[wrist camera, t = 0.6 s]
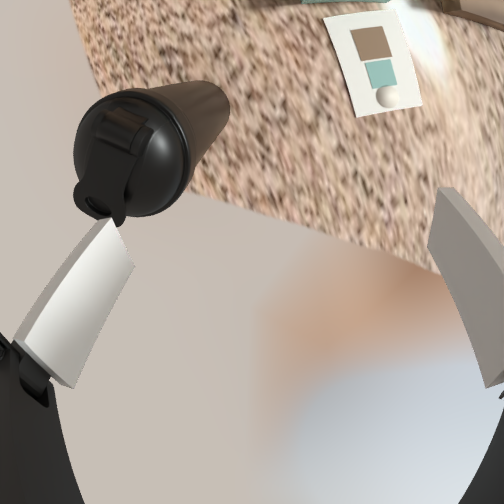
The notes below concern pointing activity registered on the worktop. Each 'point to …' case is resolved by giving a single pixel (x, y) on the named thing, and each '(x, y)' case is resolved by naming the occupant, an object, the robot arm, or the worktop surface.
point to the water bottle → (144, 147)
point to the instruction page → (375, 61)
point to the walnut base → (477, 11)
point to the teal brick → (319, 0)
